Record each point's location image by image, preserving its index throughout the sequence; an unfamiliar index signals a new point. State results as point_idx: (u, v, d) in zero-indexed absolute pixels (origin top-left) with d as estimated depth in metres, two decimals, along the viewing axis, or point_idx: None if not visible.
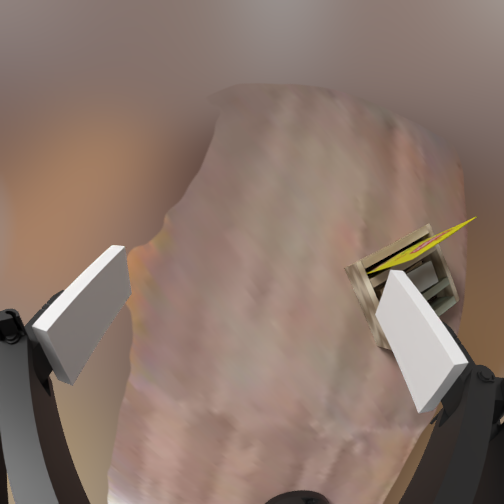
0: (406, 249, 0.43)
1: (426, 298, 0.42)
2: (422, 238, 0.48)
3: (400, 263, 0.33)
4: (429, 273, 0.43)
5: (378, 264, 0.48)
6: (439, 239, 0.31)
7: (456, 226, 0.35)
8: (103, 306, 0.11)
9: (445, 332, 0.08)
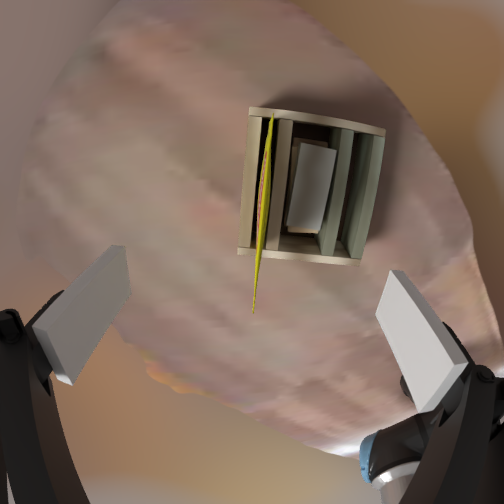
0: None
1: (343, 184, 0.31)
2: None
3: None
4: (316, 158, 0.30)
5: None
6: (258, 233, 0.21)
7: (269, 131, 0.21)
8: (103, 306, 0.11)
9: (445, 332, 0.08)
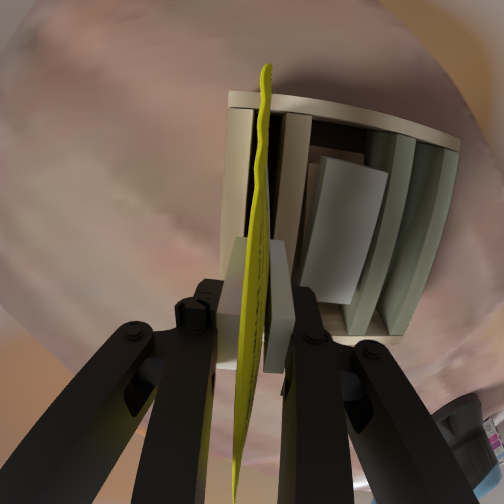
0: None
1: (393, 232, 0.18)
2: None
3: None
4: (352, 188, 0.16)
5: None
6: None
7: None
8: None
9: (286, 290, 0.10)
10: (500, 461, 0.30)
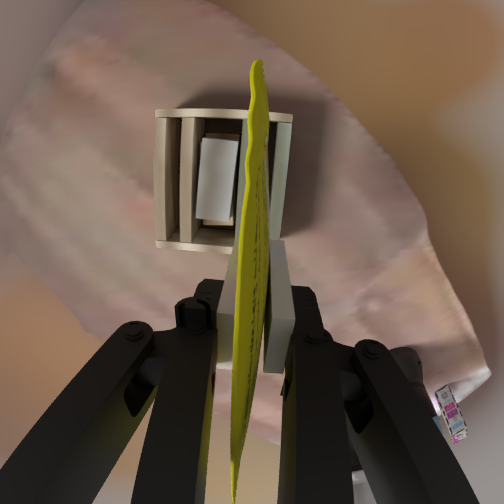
0: None
1: None
2: (177, 117, 0.32)
3: None
4: (217, 151, 0.31)
5: None
6: None
7: None
8: None
9: (286, 290, 0.10)
10: (458, 430, 0.45)
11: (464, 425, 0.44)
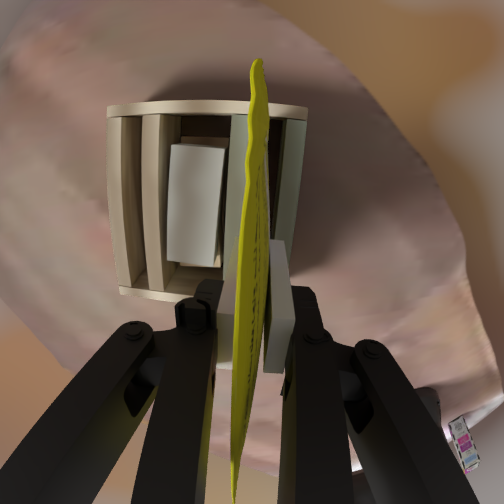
0: None
1: (240, 200, 0.22)
2: None
3: None
4: (194, 165, 0.21)
5: None
6: None
7: None
8: None
9: (286, 290, 0.10)
10: (471, 463, 0.34)
11: (477, 459, 0.34)
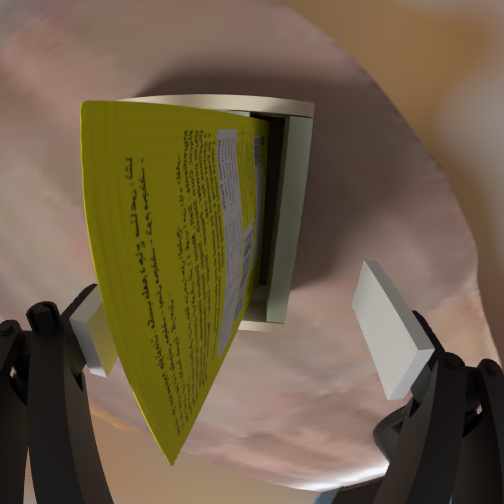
0: None
1: None
2: None
3: (193, 422, 0.13)
4: None
5: None
6: None
7: (178, 142, 0.09)
8: None
9: (413, 319, 0.09)
10: None
11: None
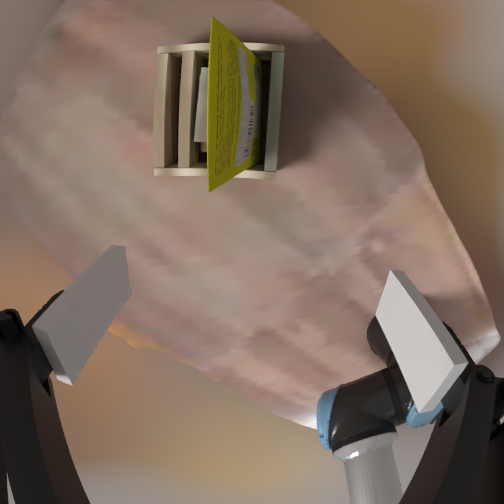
0: None
1: None
2: (178, 56, 0.31)
3: (221, 184, 0.26)
4: None
5: None
6: None
7: (227, 41, 0.20)
8: (103, 306, 0.11)
9: (445, 332, 0.08)
10: None
11: None
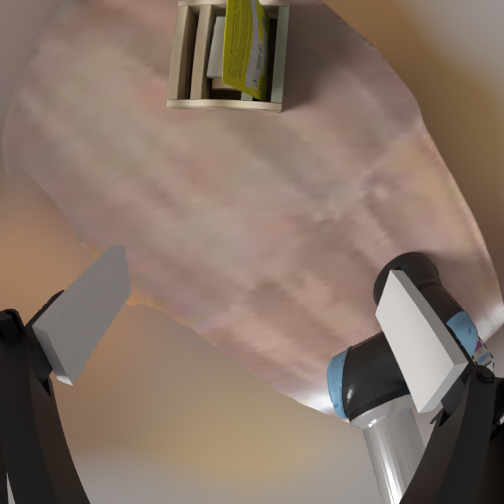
0: None
1: None
2: (195, 11, 0.30)
3: None
4: None
5: None
6: (228, 27, 0.20)
7: None
8: (103, 306, 0.11)
9: (445, 332, 0.08)
10: (485, 363, 0.43)
11: (491, 357, 0.42)
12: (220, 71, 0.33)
